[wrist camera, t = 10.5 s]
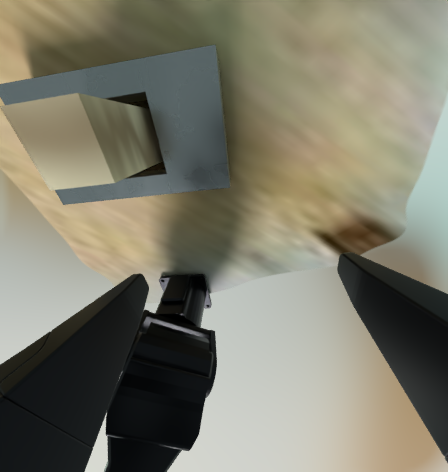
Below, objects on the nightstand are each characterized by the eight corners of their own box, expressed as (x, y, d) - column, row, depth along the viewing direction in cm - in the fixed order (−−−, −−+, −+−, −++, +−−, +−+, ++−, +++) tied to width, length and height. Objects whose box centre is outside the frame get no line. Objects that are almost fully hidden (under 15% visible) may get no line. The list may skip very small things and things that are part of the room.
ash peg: (166, 159, 18) (114, 183, 10) (128, 164, 18) (50, 190, 11) (154, 110, 16) (77, 92, 8) (111, 116, 16) (-1, 106, 9)
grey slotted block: (230, 179, 19) (229, 187, 16) (85, 194, 20) (63, 204, 18) (218, 59, 14) (215, 44, 11) (33, 92, 16) (-7, 85, 13)
